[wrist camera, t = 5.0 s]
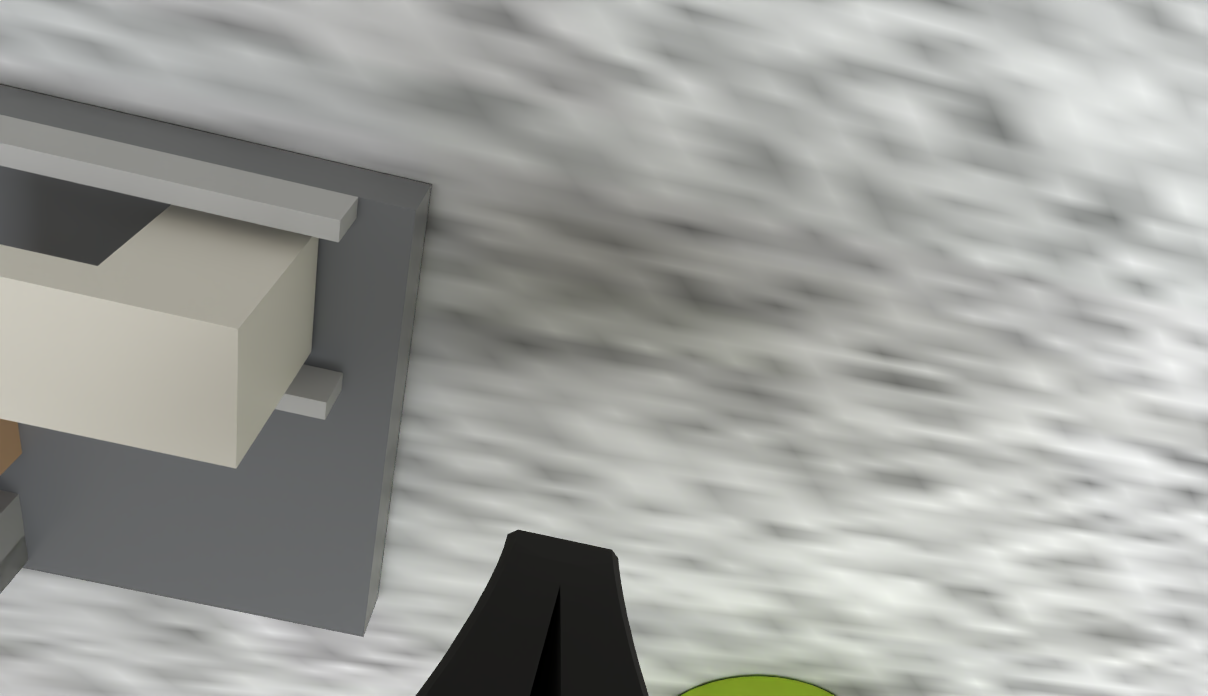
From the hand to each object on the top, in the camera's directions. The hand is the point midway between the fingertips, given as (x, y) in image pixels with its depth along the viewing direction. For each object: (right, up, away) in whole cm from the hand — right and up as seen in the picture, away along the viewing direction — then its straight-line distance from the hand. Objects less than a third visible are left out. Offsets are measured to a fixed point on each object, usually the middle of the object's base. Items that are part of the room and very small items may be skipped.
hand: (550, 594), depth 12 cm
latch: (-7, +5, +5) cm, 10 cm away
